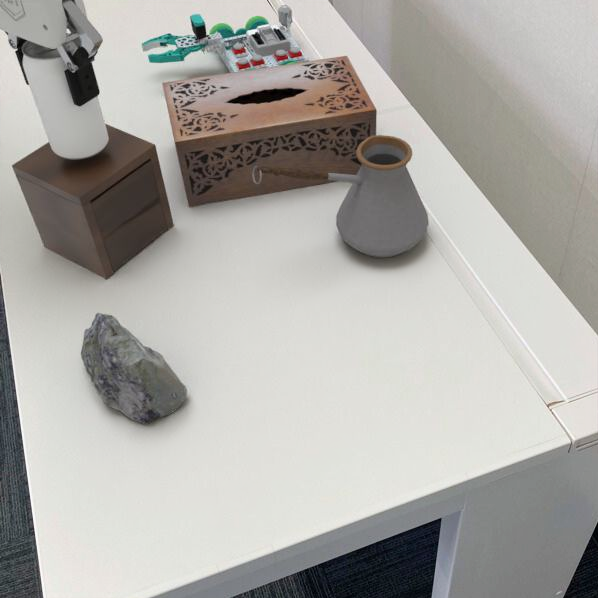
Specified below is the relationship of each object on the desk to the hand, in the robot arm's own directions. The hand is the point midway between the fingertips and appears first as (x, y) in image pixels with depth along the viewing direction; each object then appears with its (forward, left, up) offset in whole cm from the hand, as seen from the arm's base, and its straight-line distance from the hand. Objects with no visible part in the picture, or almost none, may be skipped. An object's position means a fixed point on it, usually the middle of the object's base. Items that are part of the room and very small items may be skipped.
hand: (63, 88), depth 83 cm
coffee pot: (+27, +15, -21) cm, 37 cm away
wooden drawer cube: (0, 0, -21) cm, 21 cm away
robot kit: (-12, +40, -21) cm, 46 cm away
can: (0, 0, -7) cm, 7 cm away
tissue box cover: (+8, +24, -21) cm, 33 cm away
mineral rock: (+20, -15, -21) cm, 32 cm away
